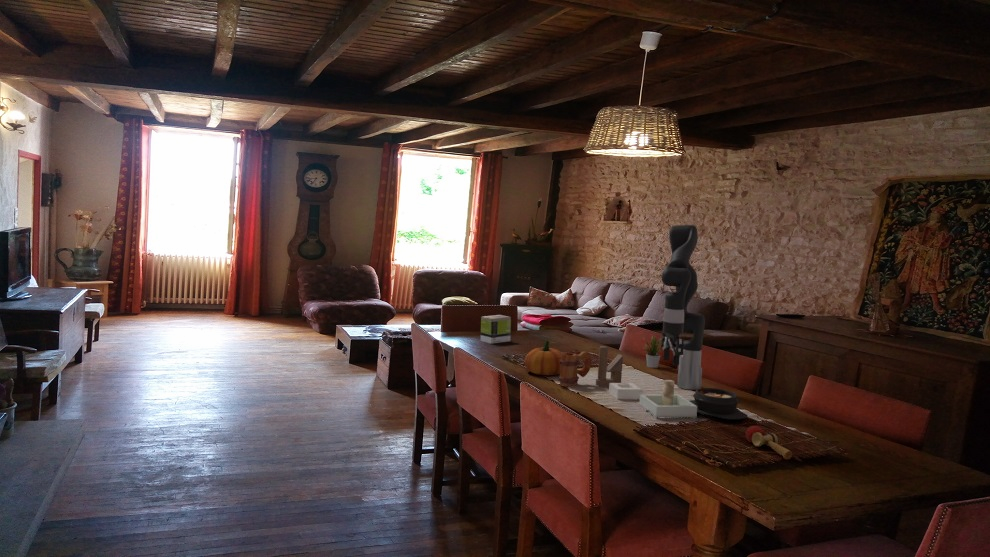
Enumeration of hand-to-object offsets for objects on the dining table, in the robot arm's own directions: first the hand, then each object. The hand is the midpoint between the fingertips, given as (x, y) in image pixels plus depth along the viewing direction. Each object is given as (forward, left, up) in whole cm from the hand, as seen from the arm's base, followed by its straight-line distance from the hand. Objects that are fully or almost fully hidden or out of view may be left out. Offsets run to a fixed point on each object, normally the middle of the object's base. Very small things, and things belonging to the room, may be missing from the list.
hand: (670, 362), depth 246 cm
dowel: (0, 0, -18) cm, 18 cm away
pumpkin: (+33, -62, -20) cm, 73 cm away
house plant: (-27, -75, -19) cm, 82 cm away
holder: (+10, -19, -19) cm, 29 cm away
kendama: (-16, +41, -20) cm, 48 cm away
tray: (0, 0, -19) cm, 19 cm away
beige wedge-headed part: (+11, -36, -19) cm, 42 cm away
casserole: (-18, +3, -20) cm, 27 cm away
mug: (+26, -38, -19) cm, 50 cm away
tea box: (+44, -138, -19) cm, 146 cm away
